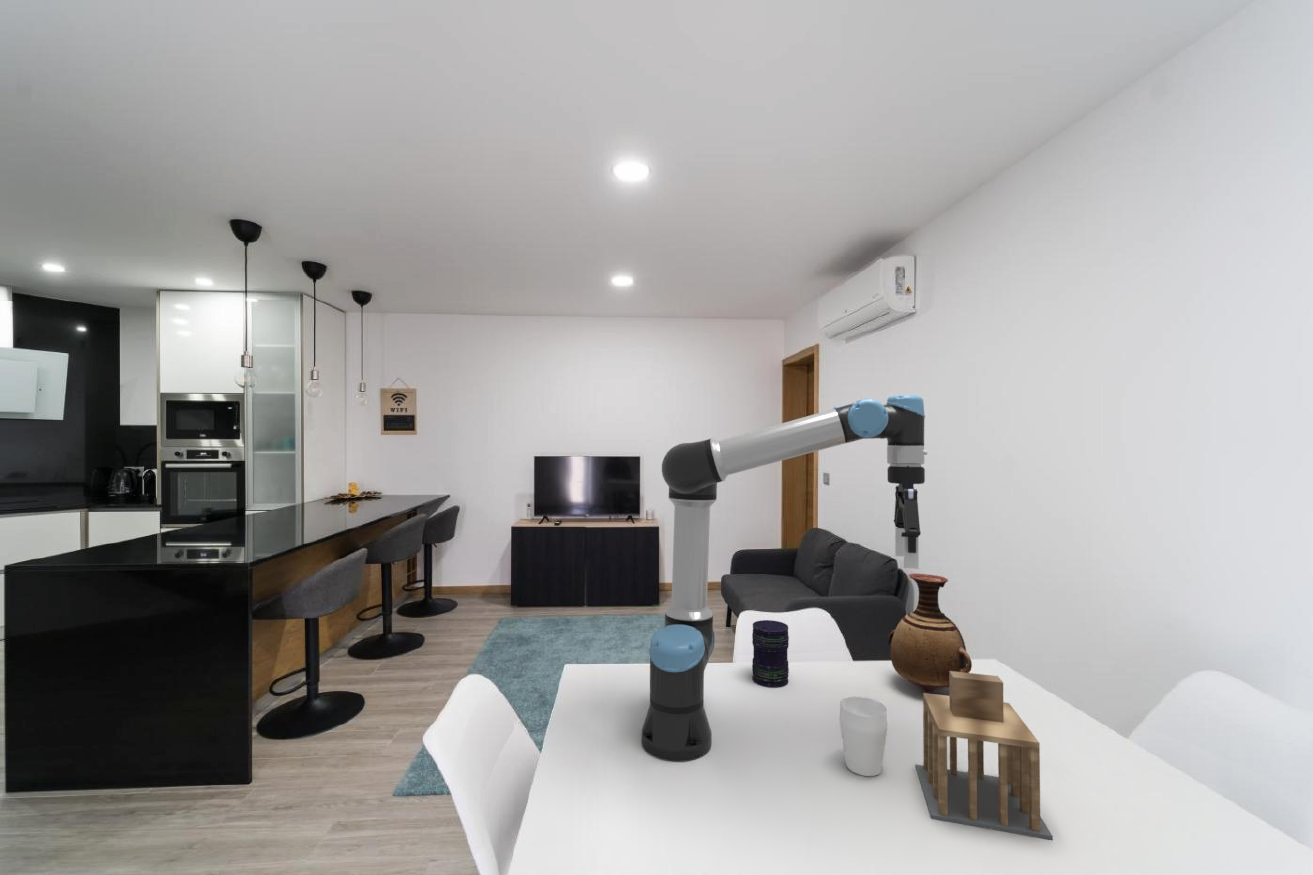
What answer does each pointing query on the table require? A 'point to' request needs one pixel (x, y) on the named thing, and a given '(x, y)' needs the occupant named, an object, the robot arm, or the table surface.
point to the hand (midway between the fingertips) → (906, 562)
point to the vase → (928, 640)
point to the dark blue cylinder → (770, 653)
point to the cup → (863, 734)
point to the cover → (981, 743)
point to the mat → (978, 804)
